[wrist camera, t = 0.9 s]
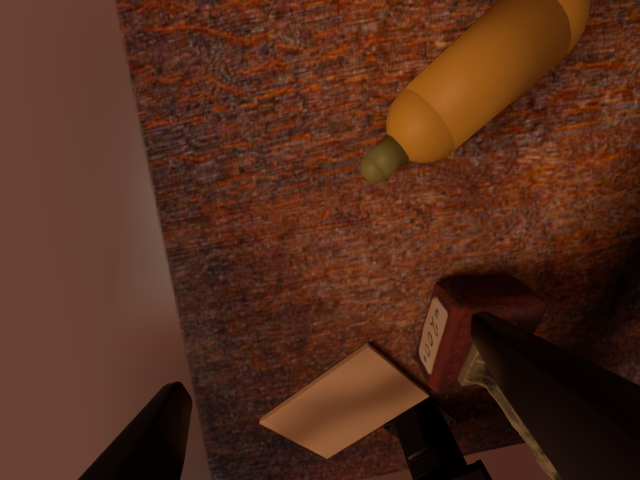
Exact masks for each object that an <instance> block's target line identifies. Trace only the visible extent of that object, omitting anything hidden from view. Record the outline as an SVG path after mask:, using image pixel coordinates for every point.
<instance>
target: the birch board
mask: <svg viewBox="0 0 640 480" xmlns="http://www.w3.org/2000/svg"><path fill="white" fill-rule="evenodd" d="M428 397H429V395H428V393H427V391H426V390H424V389H423V388H422V387H421V386H419V385H418V384H417V383H416V382H415V381H413V380H412V379H411V378H410V377H409V376H407V375H406V374H405V373H404V372H403V371H401V370H400V369H399V368H398V367H397V366H395V365H394V364H393V363H392V362H391V361H389V360H388V359H387V358H386V357H385V356H383V355H382V354H381V353H380V352H379V351H377V350H376V349H375V348H374V347H372V346H371V345H370V344H369V343H368V342H367V343H366V344H364V345H363V346H362V347H360V348H359V349H357V350H356V351H354V352H353V353H352V354H350V355H349V356H347V357H346V358H345V359H343V360H342V361H340V362H339V363H338V364H336V365H335V366H333V367H332V368H330V369H329V370H328V371H326V372H325V373H323V374H322V375H321V376H319V377H318V378H316V379H315V380H313V381H312V382H311V383H309V384H308V385H306V386H305V387H304V388H302V389H301V390H299V391H298V392H297V393H295V394H294V395H292V396H291V397H289V398H288V399H287V400H285V401H284V402H282V403H281V404H280V405H278V406H277V407H275V408H274V409H273V410H271V411H270V412H268V413H267V414H265V415H264V416H263V417H261V418H260V424H261V425H263V426H265V427H267V428H269V429H271V430H273V431H275V432H277V433H279V434H281V435H283V436H285V437H286V438H288V439H290V440H292V441H294V442H296V443H298V444H300V445H302V446H304V447H306V448H308V449H310V450H312V451H313V452H315V453H317V454H319V455H321V456H323V457H325V458H327V459H328V458H329V457H331V456H333V455H334V454H336V453H338V452H339V451H341V450H342V449H344V448H346V447H347V446H349V445H351V444H352V443H354V442H356V441H357V440H359V439H360V438H362V437H364V436H365V435H367V434H369V433H370V432H372V431H374V430H375V429H377V428H378V427H380V426H382V425H383V424H385V423H387V422H388V421H390V420H392V419H393V418H395V417H396V416H398V415H400V414H401V413H403V412H405V411H406V410H408V409H410V408H411V407H413V406H415V405H416V404H418V403H419V402H421V401H423V400H424V399H426V398H428Z"/></svg>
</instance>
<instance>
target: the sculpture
mask: <svg viewBox="0 0 640 480" xmlns="http://www.w3.org/2000/svg"><path fill="white" fill-rule="evenodd" d="M483 311H486V312H489V313H491V314H494V315H496V316H498V317H500V318H502V319H504V320H506V321H508V322H510V323H512V324H514V325H516V326H518V327H520V328H522V329H524V330H526V331H528V332H530V333H532V334H534V332H535V330H536V327H537V325H538V323H539V322H540V320H541V318H542V317H543V315H544V312H545V300H544V299H543V298H541V297H540V296H539V295H537V294H536V293H535V292H534V291H533V290H532V289H530V288H529V287H528V286H527V285H526V284H525V283H523V282H522V281H520V280H518V279H517V278H515V277H505V278H494V277H482V278H465V279H455V278H454V279H453V280H450V281H441V282H437V283H436V284H435V286H434V290H433V294H432V298H431V301H430V305H429V308H428V311H427V314H426V318H425V321H424V327H423V330H422V333H421V336H420V340H419V344H418V347H417V350H416V355H415V357H414V359H415V361H416V362H417V363H418V365H419V367H420V369H421V372H422V374H423V376H424V378H425V380H426V382H427V384H428V386H429V387H430V388H432V389H433V390H435V391H437V392H443V391H448V390H455V389H466V388H475V387H485V388H487V390H488V392H489V393H490V394H491V395H492V396H493V398H494V399H495V400H496V401H497V403H498V404H499V405H500V407H501V408H502V410H503V411H504V413H505V415H506V417H507V418H508V420H509V421H510V423H511V424H512V426H513V427H514V428H515V429H516V430H517V431H518V433H519V434H520V435H521V437H522V438H523V439H524V441H525V442H526V443H527V444H528V446H529V447H530V448H531V450H532V452H533V453H534V455H535V457H536V458H537V459H536V461H537V462H538V464H539V465H540V466H541V467H542V469H543V470H544V471H545V472H546V474H548V475H549V476H550V477H551V478H552V479H553V480H563V479H562V478H561V477H560V475H559V474H558V472H557V471H556V469H555V468H554V466H553V465H552V464H551V462H550V461H549V459H548V458H547V456H546V455H545V454H544V452H543V451H542V449H541V448H540V446H539V445H538V444H537V442H536V441H535V439H534V438H533V436H532V435H531V434H530V432H529V431H528V429H527V428H526V426H525V425H524V424H523V422H522V421H521V419H520V418H519V416H518V415H517V414H516V412H515V411H514V409H513V408H512V406H511V405H510V404H509V402H508V401H507V399H506V398H505V396H504V395H503V393H502V392H501V390H500V389H499V387H498V385H497V383H496V382H495V380H494V378H493V376H492V375H491V373H490V371H489V369H488V368H487V366H486V364H485V362H484V361H483V359H482V357H481V355H480V353H479V352H478V350H477V348H476V346H475V345H474V343H473V341H472V338H471V334H470V331H471V316H472V315H473V314H474V313H479V312H483Z"/></svg>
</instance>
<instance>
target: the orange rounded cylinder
mask: <svg viewBox="0 0 640 480" xmlns="http://www.w3.org/2000/svg"><path fill="white" fill-rule="evenodd" d="M589 12H590V0H498V1H497V2H495V3H494V4H493V5H492V6H491V7H490V8H489V9H488V10H487V11H486V12H485V13H484V14H483V15H482V16H481V17H480V18H478V19H477V20H476V21H475V22H474V23H473V24H472V25H471V26H470V27H469V28H468V29H467V30H466V31H465V32H464V33H463V34H461V35H460V36H459V37H458V38H457V39H456V40H455V41H454V42H453V43H452V44H451V45H450V46H449V47H448V48H447V49H446V50H444V51H443V52H442V53H441V54H440V55H439V56H438V57H437V58H436V59H435V60H434V61H433V62H432V63H431V64H430V65H429V66H427V67H426V68H425V69H424V70H423V71H422V72H421V73H420V74H419V75H418V76H417V77H416V78H415V79H414V80H413V81H412V82H410V83H409V84H408V85H407V86H406V87H405V88H404V89H403V90H402V91H401V92H400V93H399V94H398V95H397V97H396V98H395V100H394V101H393V103H392V105H391V107H390V109H389V112H388V115H387V121H386V132H387V135H386V136H385V137H384V138H383V139H382V140H381V141H380V142H379V143H378V144H376V145H375V146H374V147H373V148H372V149H371V150H370V151H369V152H368V153H367V154H366V155H365V156H364V157H363V159H362V161H361V165H360V169H361V173H362V175H363V176H364V178H365V179H366V180H368V181H370V182H373V183H379V182H383V181H385V180H386V179H388V178H389V177H390V176H391V175H392V174H393V173H395V172H396V171H397V170H398V169H399V168H400V167H401V166H403V165H404V164H405V163H406V162H407V161H408V160H409V161H412V162H417V163H429V162H433V161H437V160H440V159H442V158H444V157H446V156H447V155H449V154H450V153H452V152H453V151H454V150H455V149H457V148H458V147H459V146H460V145H461V144H463V143H464V142H465V141H466V140H467V139H469V138H470V137H471V136H472V135H473V134H475V133H476V132H477V131H478V130H479V129H481V128H482V127H483V126H484V125H485V124H487V123H488V122H489V121H490V120H491V119H493V118H494V117H495V116H496V115H497V114H499V113H500V112H501V111H502V110H503V109H505V108H506V107H507V106H508V105H509V104H511V103H512V102H513V101H514V100H515V99H517V98H518V97H519V96H520V95H521V94H523V93H524V92H525V91H526V90H527V89H529V88H530V87H531V86H532V85H533V84H534V83H536V82H537V81H538V80H539V79H540V78H542V77H543V76H544V75H545V74H546V73H548V72H549V71H550V70H551V69H552V68H554V67H555V66H556V65H557V64H558V63H560V62H561V61H562V60H563V59H564V58H565V57H566V56H567V55H568V54H569V53H570V52H571V51H572V49H573V48H574V46H575V45H576V44H577V42H578V41H579V39H580V38H581V36H582V34H583V32H584V29H585V27H586V25H587V22H588V17H589Z"/></svg>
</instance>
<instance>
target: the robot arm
mask: <svg viewBox="0 0 640 480" xmlns="http://www.w3.org/2000/svg"><path fill="white" fill-rule="evenodd" d="M470 334H471V338H472V341H473V343H474V345H475V346H476V348H477V350H478V352H479V353H480V355H481V357H482V359H483V361H484V362H485V364H486V366H487V368H488V369H489V371H490V373H491V375H492V376H493V378H494V380H495V382H496V383H497V385H498V387H499V389H500V390H501V392H502V393H503V395H504V396H505V398H506V399H507V401H508V402H509V404H510V405H511V406H512V408H513V409H514V411H515V412H516V414H517V415H518V416H519V418H520V419H521V421H522V422H523V424H524V425H525V426H526V428H527V429H528V431H529V432H530V434H531V435H532V436H533V438H534V439H535V441H536V442H537V444H538V445H539V446H540V448H541V449H542V451H543V452H544V454H545V455H546V456H547V458H548V459H549V461H550V462H551V464H552V465H553V466H554V468H555V469H556V471H557V472H558V474H559V475H560V477H561V478H562V479H563V480H640V386H639V385H637V384H635V383H633V382H631V381H629V380H627V379H625V378H623V377H621V376H618V375H616V374H614V373H612V372H610V371H608V370H606V369H604V368H602V367H600V366H598V365H596V364H594V363H592V362H590V361H588V360H586V359H584V358H582V357H580V356H578V355H575V354H573V353H571V352H569V351H567V350H565V349H563V348H561V347H559V346H557V345H555V344H553V343H551V342H549V341H547V340H545V339H543V338H541V337H539V336H537V335H534V334H532V333H530V332H528V331H526V330H524V329H522V328H520V327H518V326H516V325H514V324H512V323H510V322H508V321H506V320H504V319H502V318H500V317H498V316H496V315H494V314H491V313H489V312H486V311H483V312H479V313H474V314H473V315H472V316H471V331H470ZM191 411H192V399H191V396H190V395H189V393H188V392H187V390H186V389H185V387H184V386H183V384H182V383H181V382H174V383H169V384H166V385H165V386H163V387H162V388H161V389H160V391H159V392H158V393H157V394H156V395H155V396H154V397H153V398H152V399H151V400H150V401H149V403H148V404H147V405H146V406H145V407H144V408H143V409H142V410H141V412H139V414H138V415H137V416H136V417H135V418H134V419H133V420H132V421H131V422H130V423H129V424H128V425H127V427H126V428H125V429H124V430H123V431H122V432H121V433H120V434H119V435H118V436H117V437H116V439H115V440H114V441H113V442H112V443H111V444H110V445H109V446H108V447H107V448H106V449H105V451H104V452H103V453H102V454H101V455H100V456H99V457H98V458H97V459H96V460H95V461H94V462H93V464H92V465H91V466H90V467H89V468H88V469H87V470H86V471H85V472H84V473H83V474H82V476H81V477H80V478H79V479H78V480H180V478H181V473H182V469H183V464H184V459H185V453H186V446H187V439H188V432H189V425H190V418H191ZM455 422H456V420H455V419H454V417H453V416H452V415H451V414H449V413H448V412H447V411H446V410H445V409H443V408H442V407H441V406H440V405H438V404H437V403H436V402H435V401H434V400H432V399H431V398H430V397H428V398H426V399H424V400H423V401H421V402H419V403H418V404H416V405H415V406H413V407H411V408H410V409H408V410H406V411H405V412H403V413H401V414H400V415H398V416H396V417H395V418H393V419H392V420H390V421H388V422H387V423H385V424H383V427H384V429H386V430H387V431H389V432H390V433H392V434H393V435H395V436H396V437H398V438H399V439H400V442H401V445H402V449H403V452H404V455H405V458H406V461H407V464H408V467H409V470H410V473H411V476H412V479H413V480H492V479H491V477H490V475H489V473H488V472H487V470H486V468H485V466H484V464H483V462H482V461H481V460H478V461H476V462H475V463H473V464H470V465H467V463H466V461H465V459H464V457H463V455H462V453H461V451H460V449H459V447H458V445H457V443H456V441H455V439H454V437H453V435H452V432H451V430H450V428H449V426H451V425H453V424H455Z"/></svg>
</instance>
